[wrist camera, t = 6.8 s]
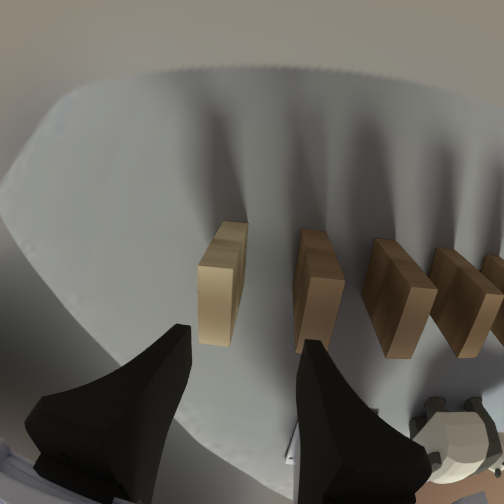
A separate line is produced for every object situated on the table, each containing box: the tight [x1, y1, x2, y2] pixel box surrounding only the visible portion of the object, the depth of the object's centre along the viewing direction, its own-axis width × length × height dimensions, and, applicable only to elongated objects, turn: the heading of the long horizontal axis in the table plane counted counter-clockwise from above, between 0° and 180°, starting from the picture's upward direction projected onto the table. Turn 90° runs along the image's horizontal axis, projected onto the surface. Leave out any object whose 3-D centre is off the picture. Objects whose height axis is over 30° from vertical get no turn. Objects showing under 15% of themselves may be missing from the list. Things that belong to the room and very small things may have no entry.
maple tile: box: [198, 221, 248, 347], centre depth 18 cm, size 4×2×7 cm, turn 176°
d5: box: [292, 229, 346, 354], centre depth 18 cm, size 4×2×7 cm, turn 175°
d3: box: [428, 247, 504, 358], centre depth 18 cm, size 4×2×7 cm, turn 175°
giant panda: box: [409, 397, 504, 484], centre depth 22 cm, size 15×6×10 cm, turn 76°
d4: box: [361, 238, 438, 359], centre depth 18 cm, size 4×2×7 cm, turn 175°
